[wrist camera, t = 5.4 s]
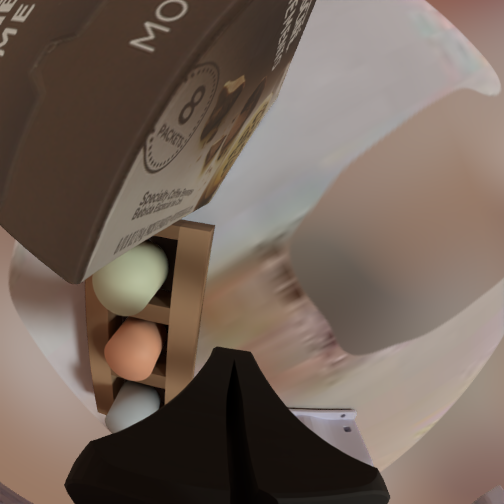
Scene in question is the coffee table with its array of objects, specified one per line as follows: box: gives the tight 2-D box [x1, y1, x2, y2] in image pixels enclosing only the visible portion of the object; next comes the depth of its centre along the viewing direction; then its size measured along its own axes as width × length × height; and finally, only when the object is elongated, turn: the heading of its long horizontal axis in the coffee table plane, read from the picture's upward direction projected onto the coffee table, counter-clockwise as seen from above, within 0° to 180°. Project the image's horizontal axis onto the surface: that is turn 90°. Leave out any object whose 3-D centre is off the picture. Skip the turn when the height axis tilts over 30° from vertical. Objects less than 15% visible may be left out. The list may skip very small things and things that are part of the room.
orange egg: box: [104, 316, 167, 381], centre depth 18 cm, size 3×3×4 cm
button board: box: [85, 219, 215, 415], centre depth 19 cm, size 17×8×3 cm, turn 169°
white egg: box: [105, 380, 161, 433], centre depth 18 cm, size 3×3×4 cm
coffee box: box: [0, 0, 316, 284], centre depth 10 cm, size 9×6×16 cm
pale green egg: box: [92, 240, 169, 316], centre depth 16 cm, size 3×3×4 cm
